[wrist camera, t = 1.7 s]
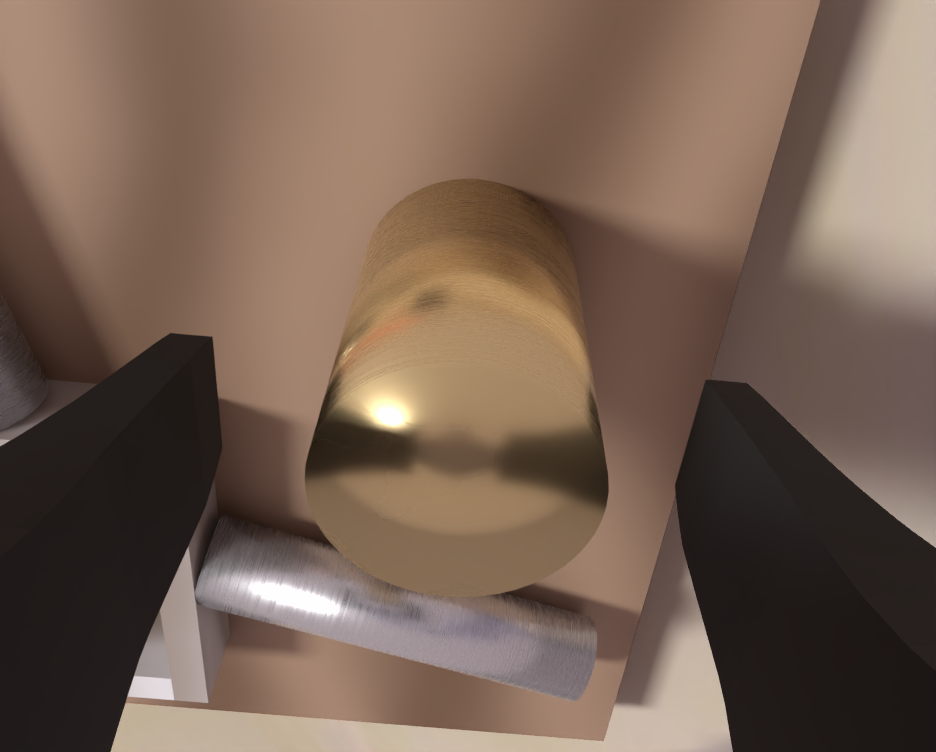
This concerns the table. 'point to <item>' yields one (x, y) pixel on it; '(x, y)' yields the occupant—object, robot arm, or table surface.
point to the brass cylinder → (461, 400)
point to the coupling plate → (343, 250)
